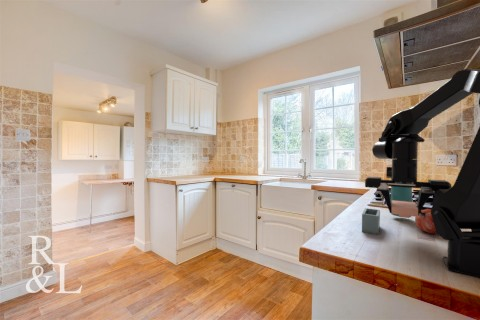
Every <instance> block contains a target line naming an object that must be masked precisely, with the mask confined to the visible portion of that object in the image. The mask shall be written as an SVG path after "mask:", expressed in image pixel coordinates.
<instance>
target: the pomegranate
mask: <svg viewBox="0 0 480 320" xmlns="http://www.w3.org/2000/svg"><path fill="white" fill-rule="evenodd" d="M414 217H415V216H414ZM414 220H415V225H416V226H417V228H419V230H422V232H426V233H428V234H431V235H437V233H436V230H435V226H434V223H433V219H432V215H431V208H425V209H422V210H421V212H420V214H419V216H418V217H415V218H414Z"/></svg>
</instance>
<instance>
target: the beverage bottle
mask: <svg viewBox="0 0 480 320" xmlns="http://www.w3.org/2000/svg"><path fill="white" fill-rule="evenodd" d="M390 180H392V178H390ZM397 183H401V182H397ZM390 199H391V206H392V200H395V201H405V202H414V201H413V188H408V187H393V186H390ZM391 215H392V216H393V217H394V216H395V217H399V214H391ZM409 218H412V216H409Z"/></svg>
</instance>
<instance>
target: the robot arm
mask: <svg viewBox="0 0 480 320" xmlns="http://www.w3.org/2000/svg"><path fill="white" fill-rule="evenodd" d="M472 94H480V68H463V69H461V70H458V71H456V72H455V73H454V74H453V75H452V77H451V78H450V79H448V81H446V82H445V83H444V84H442V85H441V86H439V87H438V88H437V89H436V90H435V91H433V92H432V93H430V94H429V95H428V96H426V97H425V98H424V99H422V100H421V101H420V102H418V103H416V104H415V105H414V106H413V107H410V108H407V109H404V110H401V111H399V112H397V113H395V114H393V115H392V116H391V117H389V119H388V121H387V124H386V126H385V127H384V130H383V131H381V136H380V137H379V138H378V142H375V144H373V147H372V149H371V150H372V154H373V156H374V157H375V158H377V159H378V160H379V159H380V160H382V159H383V160H391V166H386V171H385V173H386V178H387V179H382V176H380V177H379V176H368V177H366V178H364V187H365V188H368V189H369V188H370V189H371V188H372V189H376V191H377V192H380V193H381V195H382V197H383V199H384V200H385V204H386V207H387V208H388V211H389V214H391V212H392V206H391V195H390V194H391V191H390V187H391V186H393V187H408V188H412V189H419V190H418V196H417V203H416V206H417V208H418V216H419V214H420V212H421V211H423V208H424V206H425V204H426V202H427V201H428V200H429V198H430V197H431V196H433V200H432V202H431V203H429V206H431V208H430V209H431V215H432V219H433V223H434V226H435V230H436V233H437V234H436V236H439V237H441V238H442V240H445V241H447V256H445V255H444V256H442V260H443V262H444V264H445V267H446V269H447V270H448V271H451V272H455V273H461V274H464V275H468V276H474V277H477V278H480V126H479V127H478V129H477V131H476V134H475V136H474V138H473V140H472V143H471V145H470V147H469V150H468V152H467V154H466V157H465V158H464V161H463V164H462V165H461V168H460V170H459V173H458V175H457V177H456V179H455V181H454V184H453V185H452V183H450V182H449V181H448V180H445V179H428V181H418V152H419V151H418V147H419V146H418V144H419V143H424V142H425V139H424V138H423V137H422V136H420V135H419V134H420V133H421V132H422V131H424V130H425V129H426V128H427V127H428V125H429V122H430V121H431V120H432V119H434V118H436V117H437V116H439V115H440V114H441V113H444V112H445V111H446V110H449V109H450V108H451V107H453V106H455V105H456V104H457V103H459V102H461V101H463V100H464V99H466V98H468V97H469V96H471V95H472ZM478 106H479V108H480V97H479V99H478ZM391 178H392V180H391ZM397 182H401V183H397ZM464 230H465V231H464ZM466 230H469V231H466ZM470 230H471V231H470Z"/></svg>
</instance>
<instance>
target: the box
mask: <svg viewBox="0 0 480 320" xmlns="http://www.w3.org/2000/svg"><path fill="white" fill-rule="evenodd" d="M380 216H381V209H376V208H367V207H365V208H364V209H363V211H362V213H361V233H366V234H372V235H377V236H378V235H379V232H380V228H381V226H380V225H381V224H380V223H381V222H380V221H381V218H380Z"/></svg>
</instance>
